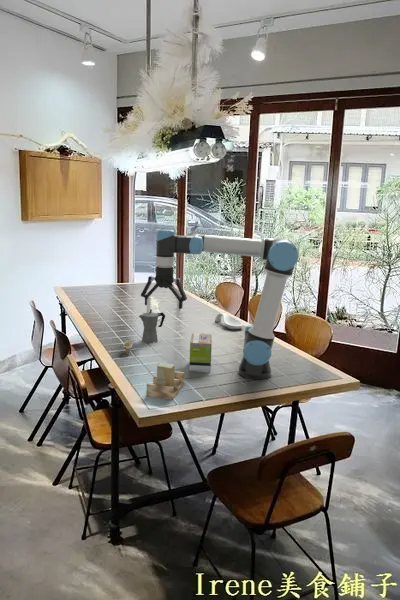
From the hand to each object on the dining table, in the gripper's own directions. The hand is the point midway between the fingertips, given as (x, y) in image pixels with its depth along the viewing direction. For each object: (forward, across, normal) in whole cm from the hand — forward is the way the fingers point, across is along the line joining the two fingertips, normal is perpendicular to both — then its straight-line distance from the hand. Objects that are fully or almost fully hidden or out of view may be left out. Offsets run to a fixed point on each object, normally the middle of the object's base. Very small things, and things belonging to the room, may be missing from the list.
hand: (163, 314), depth 205 cm
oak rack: (+29, -7, +16) cm, 33 cm away
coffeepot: (+29, +21, -48) cm, 60 cm away
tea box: (+29, -14, -17) cm, 36 cm away
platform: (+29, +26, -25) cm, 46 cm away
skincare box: (+28, -8, +19) cm, 35 cm away
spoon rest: (+29, -14, -95) cm, 100 cm away
